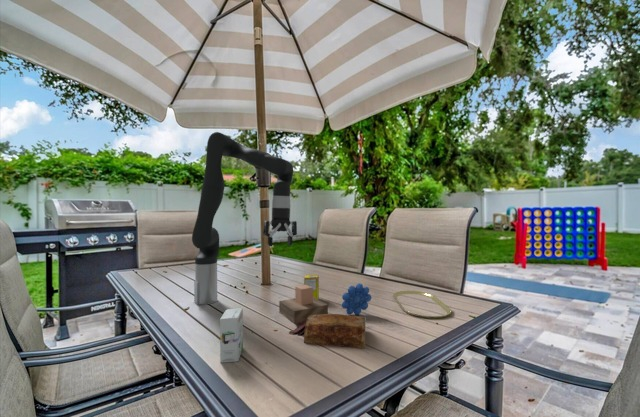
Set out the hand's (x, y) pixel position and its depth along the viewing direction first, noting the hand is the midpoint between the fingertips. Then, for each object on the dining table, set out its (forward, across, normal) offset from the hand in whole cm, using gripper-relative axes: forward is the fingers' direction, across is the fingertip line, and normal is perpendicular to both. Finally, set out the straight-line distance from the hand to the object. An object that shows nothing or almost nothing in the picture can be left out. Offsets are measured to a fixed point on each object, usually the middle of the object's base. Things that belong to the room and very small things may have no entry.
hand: (280, 245), depth 124 cm
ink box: (+26, +28, +31) cm, 49 cm away
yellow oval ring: (+24, -52, +29) cm, 65 cm away
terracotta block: (+21, -5, +13) cm, 25 cm away
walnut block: (+26, -5, +13) cm, 29 cm away
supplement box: (+26, -17, -1) cm, 31 cm away
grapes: (+25, -22, +24) cm, 41 cm away
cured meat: (+26, -3, +33) cm, 42 cm away
